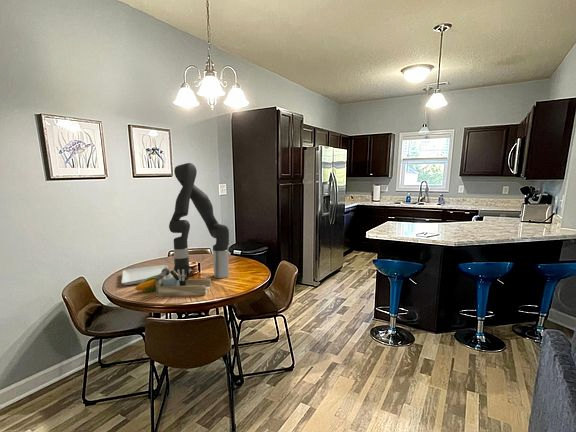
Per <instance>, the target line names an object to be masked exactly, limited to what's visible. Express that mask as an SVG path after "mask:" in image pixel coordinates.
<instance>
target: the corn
mask: <svg viewBox="0 0 576 432" xmlns="http://www.w3.org/2000/svg"><path fill="white" fill-rule="evenodd" d="M156 276H158V275H155V276H152V277H149V278H147V279H149V280H147V279H145V280H146V281H144V282H142V283H139V284H136V286H135V288H134V290H136V291H138V292H140V291H143V293H148V292H153V291H156V283H155V281H156V280H155V278H153V277H156ZM167 277H168V276H167ZM150 278H152V279H150Z"/></svg>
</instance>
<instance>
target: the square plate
mask: <svg viewBox="0 0 576 432" xmlns="http://www.w3.org/2000/svg"><path fill="white" fill-rule="evenodd" d="M164 268H168V269H169V266H168V265H167V264H161V265H152V266H143V267H137V268H136V267H135V268H130V269H129V268H128V269H124V270H122V271H121V273H122V274H121V282H120V283H121V285H124V286H129V285H130V286H131V285H139V284H140V283H142V282H144V281H146V280H145V279H147V278H149V277H152V276H155V275H159V274H160V273H162V270H163V269H164ZM167 276H168V277H172V274H171V273H170V274H169V275H167ZM153 278H155V277H153ZM150 279H152V278H150ZM147 280H149V279H147Z"/></svg>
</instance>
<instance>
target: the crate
mask: <svg viewBox="0 0 576 432" xmlns="http://www.w3.org/2000/svg"><path fill="white" fill-rule="evenodd" d="M162 283H163V286H179V280H176V279H175V278H174V277H173V276H170V277H167V278H165V279H164V280H163V281H162Z"/></svg>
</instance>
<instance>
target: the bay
mask: <svg viewBox="0 0 576 432" xmlns="http://www.w3.org/2000/svg"><path fill="white" fill-rule="evenodd" d="M170 272H171V270H170V269H169V267H168V268H164V269H163V270H162V273H160V274H159V275H158V276H156V277H155V280H156V281H155V283H156V290H155V296H156V297H174V296H176V297H177V296H179V297H181V296H187V297H188V296H189V297H190V296H206V295H207V294H208V292H209V291H210V289H211V287H212V280H211V279H212V278H189V279H188V280H186V286H180V281H179V286H163V283H162V281H163V280H164V279H165V278H167V275H169V274H170Z"/></svg>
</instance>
